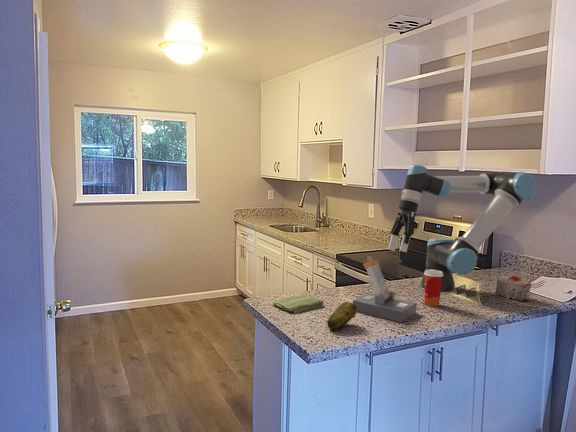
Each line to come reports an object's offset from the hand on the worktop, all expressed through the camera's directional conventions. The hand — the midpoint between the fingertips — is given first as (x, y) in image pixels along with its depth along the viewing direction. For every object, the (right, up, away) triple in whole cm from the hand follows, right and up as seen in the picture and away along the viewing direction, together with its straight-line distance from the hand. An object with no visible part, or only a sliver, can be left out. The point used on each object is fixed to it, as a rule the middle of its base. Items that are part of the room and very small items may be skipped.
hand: (396, 250), depth 190 cm
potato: (-27, -24, -30) cm, 47 cm away
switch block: (-8, -23, -13) cm, 27 cm away
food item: (+54, -22, +12) cm, 59 cm away
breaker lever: (-7, -18, -14) cm, 24 cm away
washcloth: (-41, -22, -8) cm, 47 cm away
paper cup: (+14, -22, -2) cm, 26 cm away
